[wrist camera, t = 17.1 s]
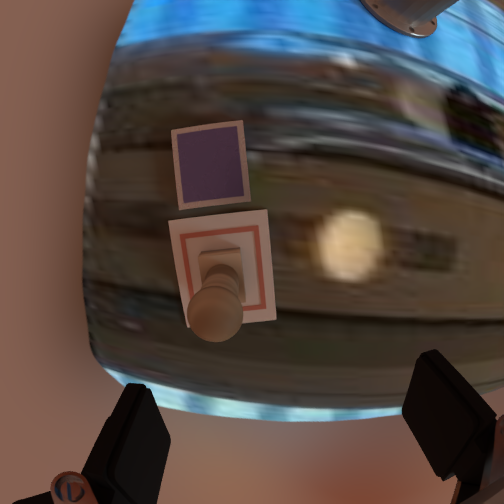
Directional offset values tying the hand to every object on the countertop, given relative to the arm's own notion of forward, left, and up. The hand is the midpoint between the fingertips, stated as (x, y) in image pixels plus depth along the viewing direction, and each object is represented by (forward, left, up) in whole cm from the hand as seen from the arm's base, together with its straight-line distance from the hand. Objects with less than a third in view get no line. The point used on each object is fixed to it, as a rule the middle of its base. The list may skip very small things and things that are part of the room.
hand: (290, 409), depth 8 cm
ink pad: (-10, -4, -21) cm, 24 cm away
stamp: (+1, -4, -21) cm, 21 cm away
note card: (+1, -4, -21) cm, 22 cm away
